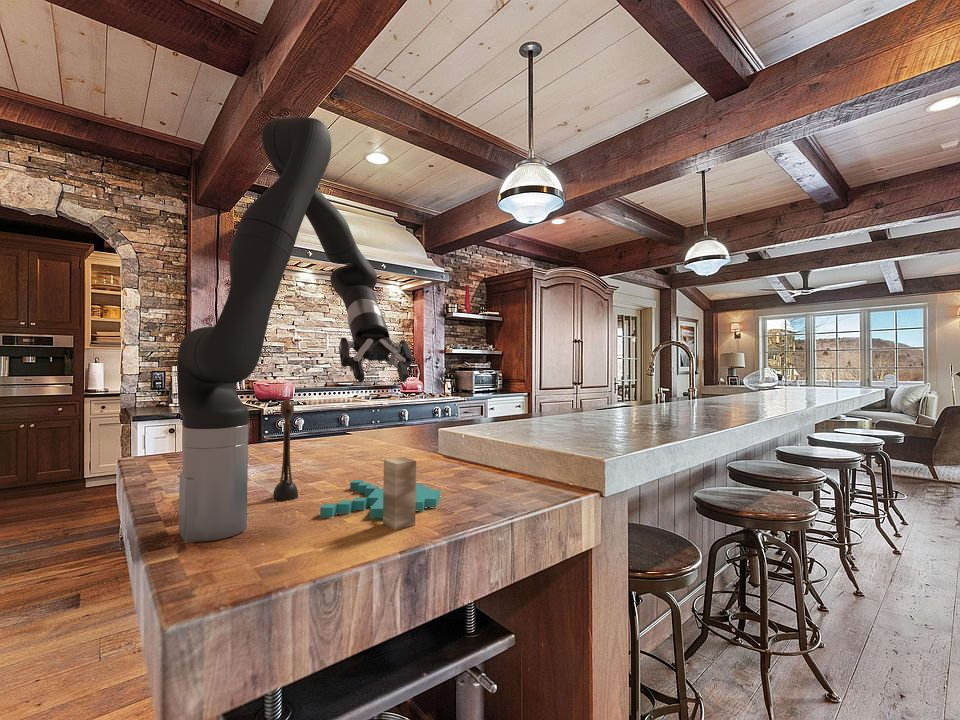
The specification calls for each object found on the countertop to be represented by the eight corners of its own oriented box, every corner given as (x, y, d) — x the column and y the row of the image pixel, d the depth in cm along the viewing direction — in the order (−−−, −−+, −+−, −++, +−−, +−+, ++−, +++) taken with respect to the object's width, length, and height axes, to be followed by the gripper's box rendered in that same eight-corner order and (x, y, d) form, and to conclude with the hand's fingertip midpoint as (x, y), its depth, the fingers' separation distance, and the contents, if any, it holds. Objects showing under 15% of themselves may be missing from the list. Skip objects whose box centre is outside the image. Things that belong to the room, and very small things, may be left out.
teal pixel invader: (320, 520, 82) (431, 522, 82) (320, 507, 83) (432, 509, 82) (353, 489, 102) (443, 491, 102) (353, 479, 103) (443, 481, 102)
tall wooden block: (394, 530, 77) (395, 463, 77) (375, 520, 82) (376, 457, 82) (415, 525, 79) (416, 460, 79) (395, 515, 84) (396, 454, 84)
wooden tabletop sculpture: (298, 501, 92) (299, 400, 92) (272, 503, 90) (274, 401, 90) (297, 493, 97) (298, 398, 98) (273, 495, 96) (274, 398, 96)
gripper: (336, 308, 94) (350, 365, 84) (403, 313, 101) (423, 366, 91) (330, 335, 99) (342, 393, 89) (394, 338, 106) (412, 391, 96)
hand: (383, 379), depth 90 cm, fingers open, 8 cm apart
